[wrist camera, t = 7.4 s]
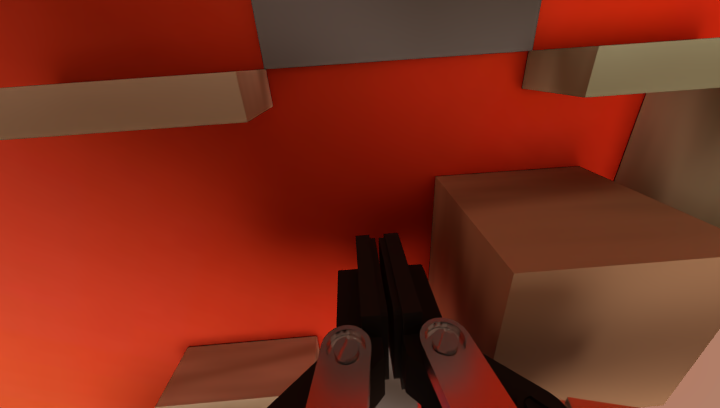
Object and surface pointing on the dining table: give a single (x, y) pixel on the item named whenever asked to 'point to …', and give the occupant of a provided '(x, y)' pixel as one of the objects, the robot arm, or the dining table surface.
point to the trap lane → (384, 43)
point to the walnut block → (576, 281)
